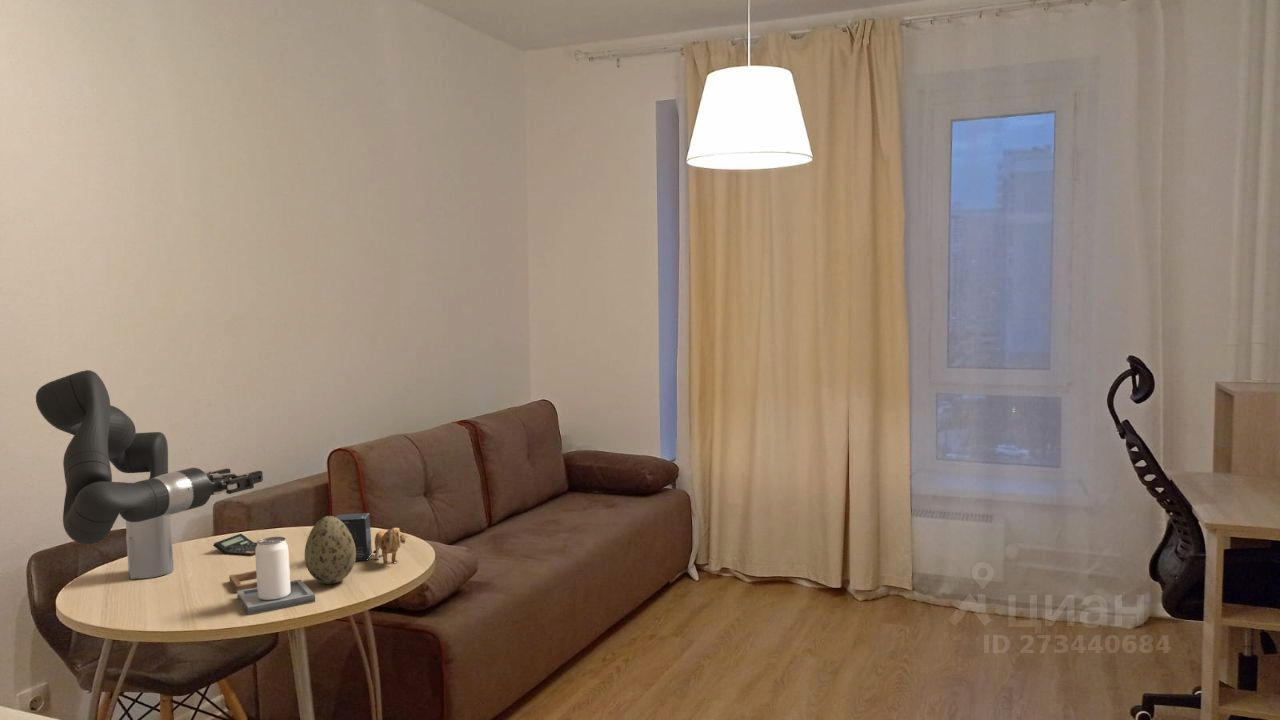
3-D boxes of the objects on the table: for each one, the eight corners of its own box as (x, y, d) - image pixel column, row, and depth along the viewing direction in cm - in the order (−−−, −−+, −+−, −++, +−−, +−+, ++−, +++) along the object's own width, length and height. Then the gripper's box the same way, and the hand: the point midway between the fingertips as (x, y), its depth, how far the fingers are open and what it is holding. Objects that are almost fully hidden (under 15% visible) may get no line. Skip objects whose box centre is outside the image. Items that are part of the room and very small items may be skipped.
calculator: (251, 557, 228) (250, 545, 228) (213, 554, 232) (213, 542, 231) (277, 547, 237) (276, 535, 237) (240, 544, 241) (239, 533, 240)
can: (279, 601, 190) (276, 544, 189) (251, 600, 191) (248, 543, 190) (297, 591, 196) (293, 536, 195) (269, 590, 198) (266, 535, 197)
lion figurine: (411, 564, 217) (409, 527, 216) (390, 569, 213) (388, 531, 213) (383, 552, 228) (381, 517, 227) (362, 557, 224) (360, 521, 224)
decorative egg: (333, 573, 212) (329, 509, 211) (367, 578, 207) (364, 513, 206) (295, 586, 202) (291, 519, 201) (330, 593, 197) (327, 524, 196)
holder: (237, 593, 199) (236, 586, 199) (229, 581, 207) (229, 575, 207) (285, 584, 204) (285, 577, 204) (276, 573, 213) (275, 567, 213)
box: (372, 554, 226) (369, 512, 226) (367, 561, 221) (365, 517, 220) (339, 556, 226) (337, 514, 225) (334, 563, 220) (331, 519, 219)
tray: (248, 614, 185) (248, 607, 185) (237, 597, 196) (237, 591, 196) (315, 601, 192) (314, 594, 192) (300, 586, 203) (300, 579, 203)
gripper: (203, 474, 167) (271, 457, 182) (147, 470, 172) (217, 454, 187) (206, 514, 167) (273, 495, 182) (150, 509, 173) (219, 490, 188)
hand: (245, 474), depth 185 cm, fingers open, 8 cm apart
